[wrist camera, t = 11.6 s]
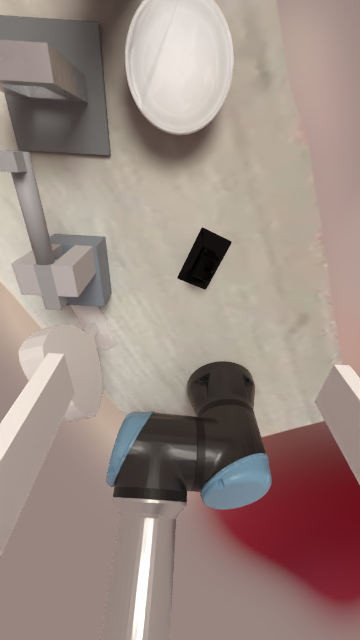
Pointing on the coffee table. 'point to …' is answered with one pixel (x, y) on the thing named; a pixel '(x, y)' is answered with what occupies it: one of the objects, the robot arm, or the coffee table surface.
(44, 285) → the vise
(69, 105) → the mat
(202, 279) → the black phone stand
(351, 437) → the robot arm
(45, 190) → the coffee table surface
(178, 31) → the ramekin
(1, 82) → the ring
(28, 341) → the heart sculpture
